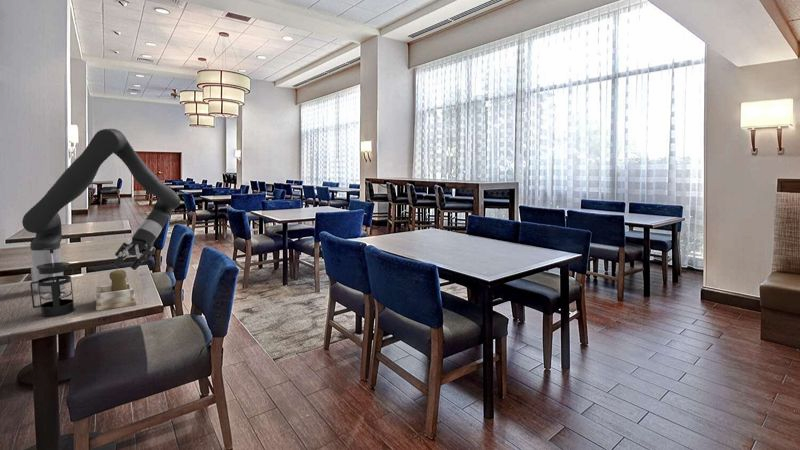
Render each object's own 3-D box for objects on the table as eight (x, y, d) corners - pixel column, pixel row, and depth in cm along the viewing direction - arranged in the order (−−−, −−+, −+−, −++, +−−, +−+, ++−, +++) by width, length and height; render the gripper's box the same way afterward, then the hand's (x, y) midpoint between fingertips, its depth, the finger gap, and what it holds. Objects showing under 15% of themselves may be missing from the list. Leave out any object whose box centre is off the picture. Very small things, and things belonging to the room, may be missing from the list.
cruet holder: (96, 310, 149) (94, 295, 148) (97, 300, 160) (95, 286, 160) (136, 304, 156) (134, 290, 155) (134, 294, 167) (133, 281, 166)
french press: (77, 305, 154) (71, 243, 151) (77, 313, 147) (70, 248, 143) (35, 312, 147) (27, 247, 144) (32, 320, 140) (24, 252, 136)
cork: (121, 302, 154) (117, 273, 152) (106, 301, 155) (103, 272, 153) (134, 296, 160) (130, 268, 158) (120, 296, 161) (116, 268, 159)
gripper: (127, 227, 169) (102, 261, 159) (155, 228, 165) (132, 264, 156) (139, 237, 175) (116, 271, 165) (167, 240, 171) (145, 274, 161)
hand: (124, 267), depth 160 cm, fingers open, 8 cm apart
